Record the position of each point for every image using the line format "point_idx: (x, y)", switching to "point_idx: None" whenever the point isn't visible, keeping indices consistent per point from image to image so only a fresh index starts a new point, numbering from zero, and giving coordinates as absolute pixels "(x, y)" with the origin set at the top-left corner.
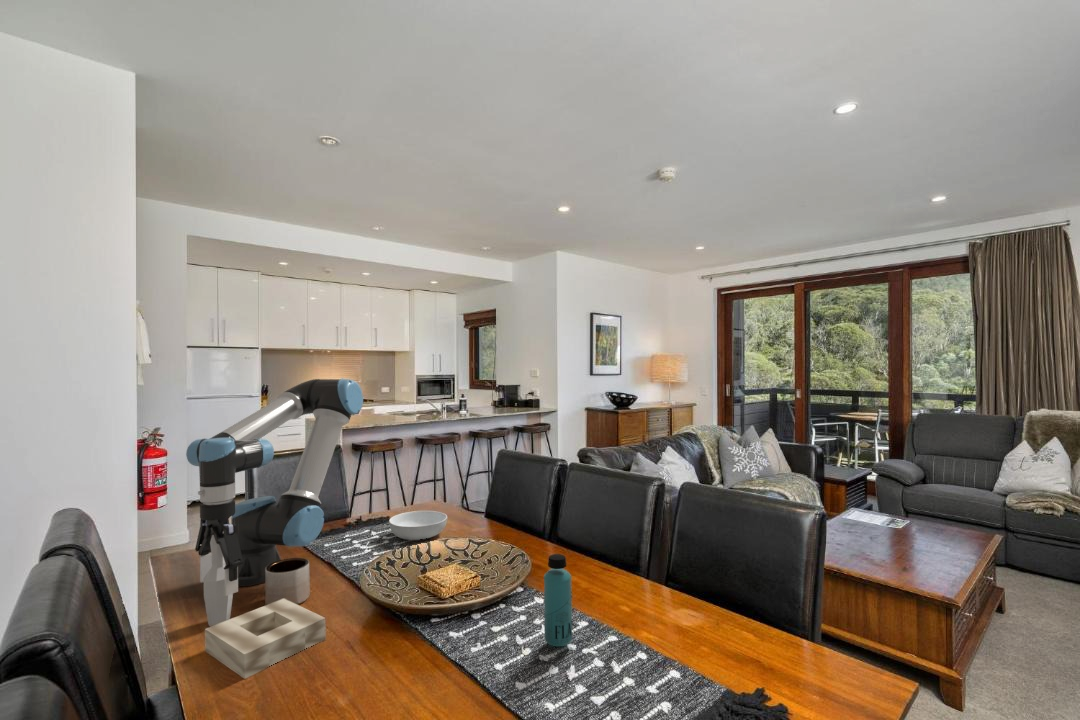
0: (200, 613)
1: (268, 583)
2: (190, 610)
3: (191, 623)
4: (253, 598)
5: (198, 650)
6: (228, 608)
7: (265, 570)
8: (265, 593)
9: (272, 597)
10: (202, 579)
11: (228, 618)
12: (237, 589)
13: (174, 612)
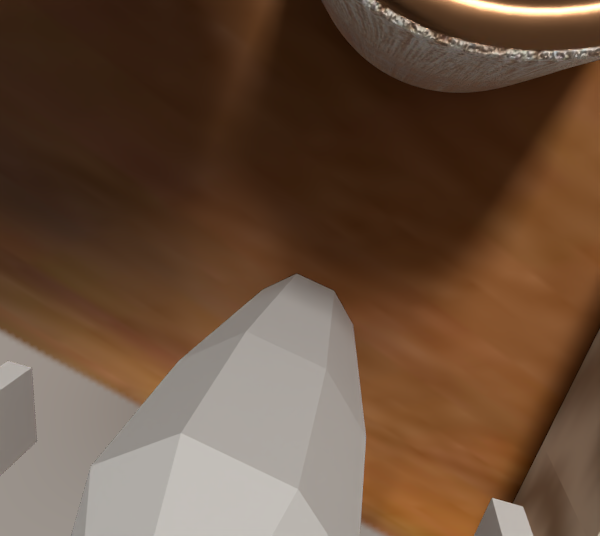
0: (126, 292)
1: (468, 74)
2: (53, 286)
3: None
4: (199, 29)
5: (464, 517)
6: (350, 353)
7: (375, 16)
8: (380, 62)
9: (503, 85)
10: (18, 452)
11: (341, 310)
12: (526, 529)
13: (18, 323)
